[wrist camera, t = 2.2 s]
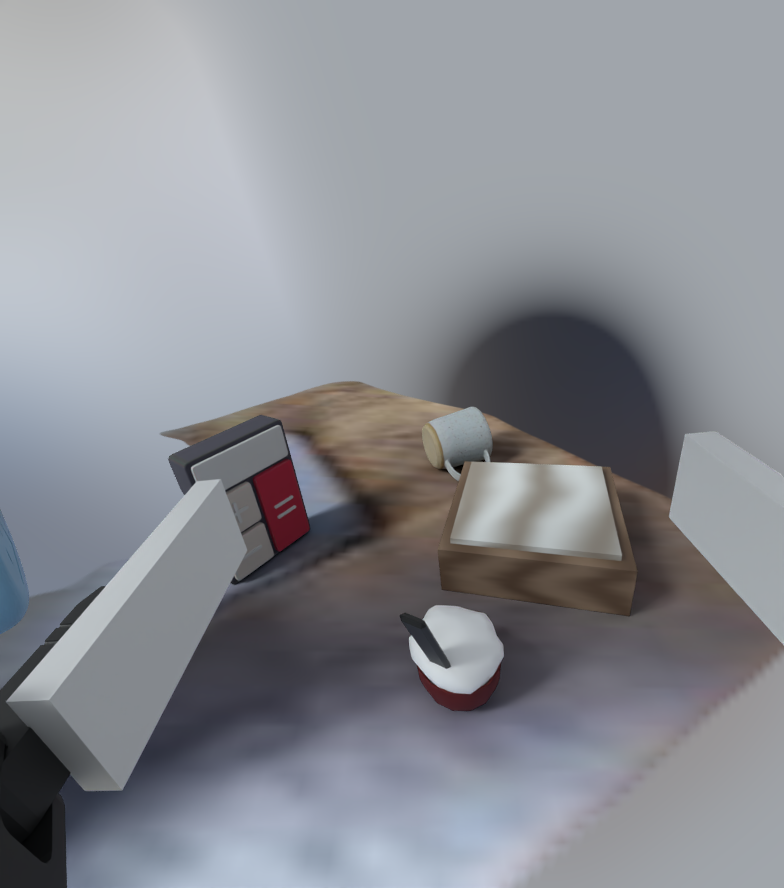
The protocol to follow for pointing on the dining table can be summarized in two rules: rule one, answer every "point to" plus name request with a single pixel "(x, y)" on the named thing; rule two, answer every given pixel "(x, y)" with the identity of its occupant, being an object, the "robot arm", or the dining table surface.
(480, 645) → the cocoa
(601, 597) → the walnut stand
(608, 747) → the dining table surface
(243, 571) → the calculator
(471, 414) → the ceramic mug
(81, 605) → the robot arm
